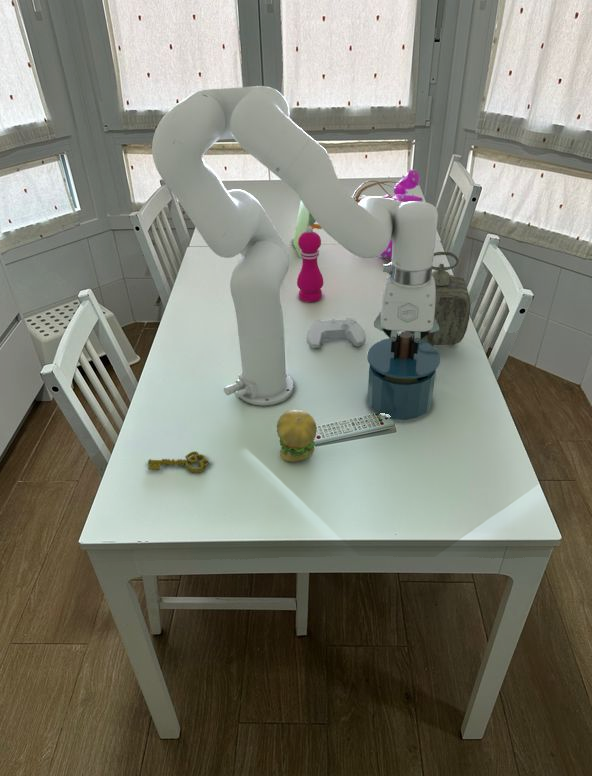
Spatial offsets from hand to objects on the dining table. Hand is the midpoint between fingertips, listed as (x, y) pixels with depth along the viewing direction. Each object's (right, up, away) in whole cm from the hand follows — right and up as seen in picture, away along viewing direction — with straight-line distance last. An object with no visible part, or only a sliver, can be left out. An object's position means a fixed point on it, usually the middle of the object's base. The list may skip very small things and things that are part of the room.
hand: (403, 354), depth 128 cm
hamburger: (-22, -21, -5) cm, 31 cm away
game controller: (-13, +6, +28) cm, 31 cm away
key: (-45, -22, -6) cm, 50 cm away
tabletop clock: (+10, +3, +23) cm, 26 cm away
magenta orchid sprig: (-4, +41, +70) cm, 81 cm away
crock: (0, -9, +8) cm, 12 cm away
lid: (0, -1, +1) cm, 1 cm away
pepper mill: (-19, +21, +46) cm, 53 cm away
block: (0, -9, +8) cm, 12 cm away
